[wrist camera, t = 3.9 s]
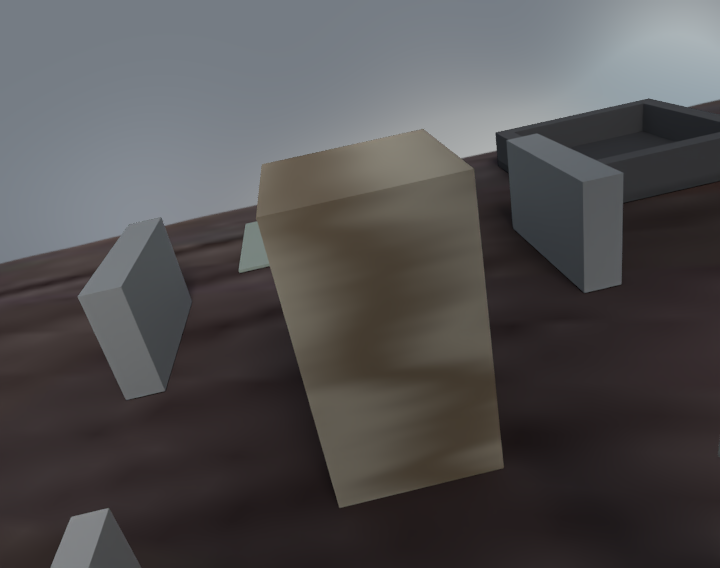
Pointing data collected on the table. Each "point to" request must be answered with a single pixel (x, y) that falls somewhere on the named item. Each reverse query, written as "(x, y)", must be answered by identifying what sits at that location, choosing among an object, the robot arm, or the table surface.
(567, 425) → the table surface
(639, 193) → the tray
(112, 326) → the walled passage
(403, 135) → the birch block
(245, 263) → the pad
